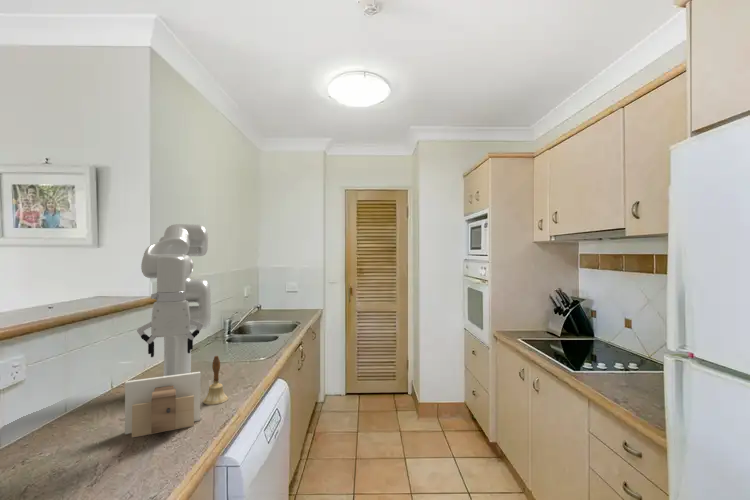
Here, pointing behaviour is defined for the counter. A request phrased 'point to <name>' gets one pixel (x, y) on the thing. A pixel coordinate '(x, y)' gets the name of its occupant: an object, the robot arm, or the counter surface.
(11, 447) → the counter surface
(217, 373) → the hand bell
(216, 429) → the counter surface
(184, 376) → the wall board
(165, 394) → the wall box
